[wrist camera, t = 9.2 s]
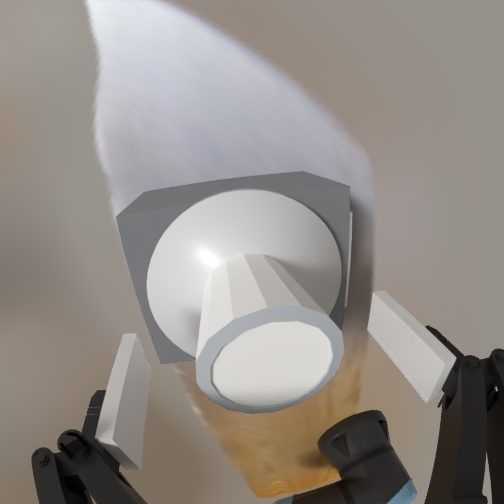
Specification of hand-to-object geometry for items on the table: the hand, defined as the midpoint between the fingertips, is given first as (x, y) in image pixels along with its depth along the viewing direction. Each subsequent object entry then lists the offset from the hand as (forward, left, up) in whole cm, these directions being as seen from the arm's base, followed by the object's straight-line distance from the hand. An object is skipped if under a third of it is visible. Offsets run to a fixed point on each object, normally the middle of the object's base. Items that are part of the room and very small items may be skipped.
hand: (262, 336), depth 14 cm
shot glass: (0, 0, -4) cm, 4 cm away
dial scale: (0, 0, -14) cm, 14 cm away
